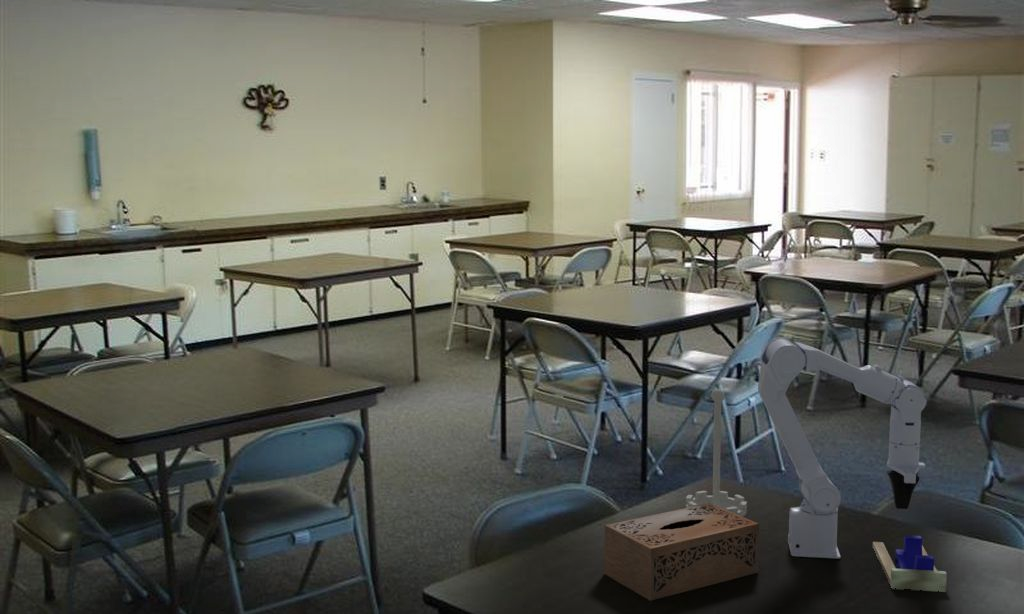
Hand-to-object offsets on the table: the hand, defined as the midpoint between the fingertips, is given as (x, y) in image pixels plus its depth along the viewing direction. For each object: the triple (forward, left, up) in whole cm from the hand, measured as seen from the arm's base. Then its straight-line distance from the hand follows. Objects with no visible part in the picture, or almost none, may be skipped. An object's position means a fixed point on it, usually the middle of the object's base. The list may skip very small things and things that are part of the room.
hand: (901, 507), depth 208 cm
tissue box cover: (-43, -17, -10) cm, 48 cm away
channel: (0, -8, -9) cm, 12 cm away
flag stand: (-36, +12, -10) cm, 39 cm away
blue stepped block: (0, -12, -10) cm, 15 cm away
